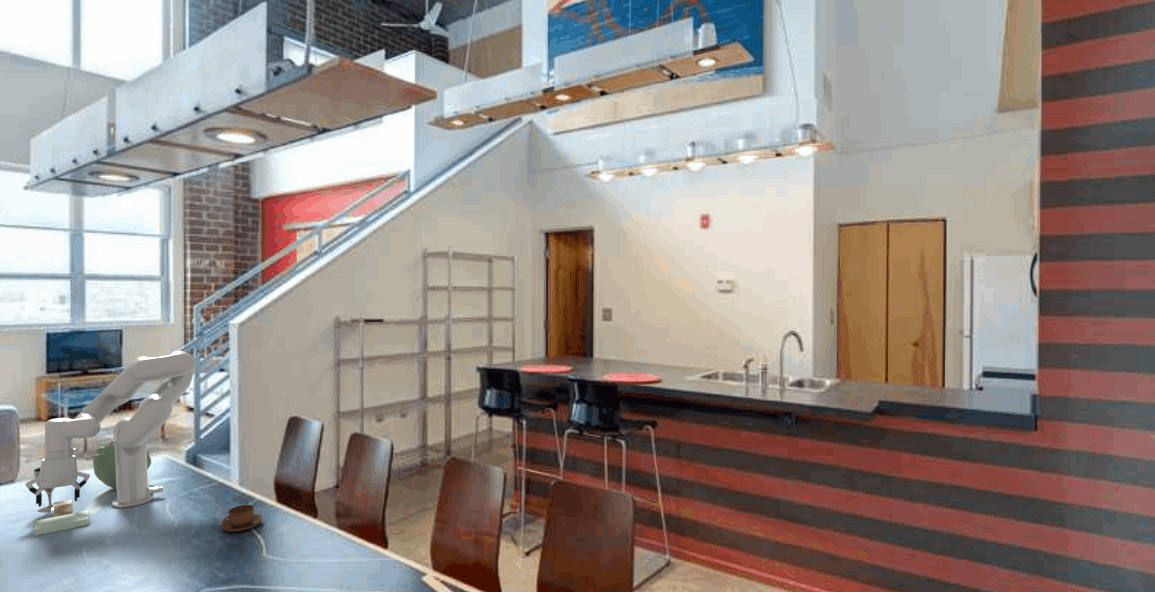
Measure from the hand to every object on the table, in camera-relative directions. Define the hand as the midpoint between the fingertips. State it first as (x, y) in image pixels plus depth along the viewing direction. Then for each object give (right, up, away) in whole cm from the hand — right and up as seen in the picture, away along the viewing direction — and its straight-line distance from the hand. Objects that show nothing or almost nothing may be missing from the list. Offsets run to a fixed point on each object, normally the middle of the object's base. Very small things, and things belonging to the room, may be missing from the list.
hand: (58, 502), depth 217 cm
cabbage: (+1, -4, +30) cm, 31 cm away
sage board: (+7, -5, -7) cm, 11 cm away
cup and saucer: (+70, -5, -10) cm, 71 cm away
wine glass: (-10, -5, +9) cm, 14 cm away
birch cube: (+1, -5, +1) cm, 6 cm away
